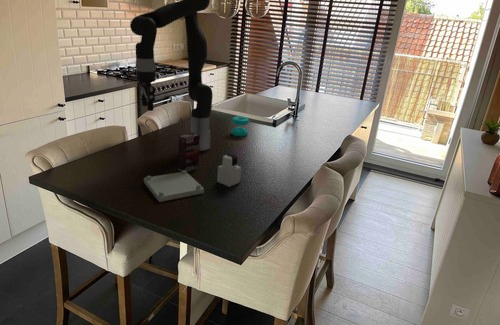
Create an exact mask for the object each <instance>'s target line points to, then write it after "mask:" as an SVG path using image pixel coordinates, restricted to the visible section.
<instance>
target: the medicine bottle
mask: <svg viewBox="0 0 500 325" xmlns="http://www.w3.org/2000/svg"><path fill="white" fill-rule="evenodd" d="M241 175H242V167H241V166H239V165H238V156H237V155H235V154H232V153H228V154H224V155H223V156H222V164H221V165H218V166H217V178H216V181H217V183H219V184H221V185H223V186H226V187H227V188H230V187H232V186H235V185H237V184H239V183H241V178H242V176H241Z"/></svg>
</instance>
